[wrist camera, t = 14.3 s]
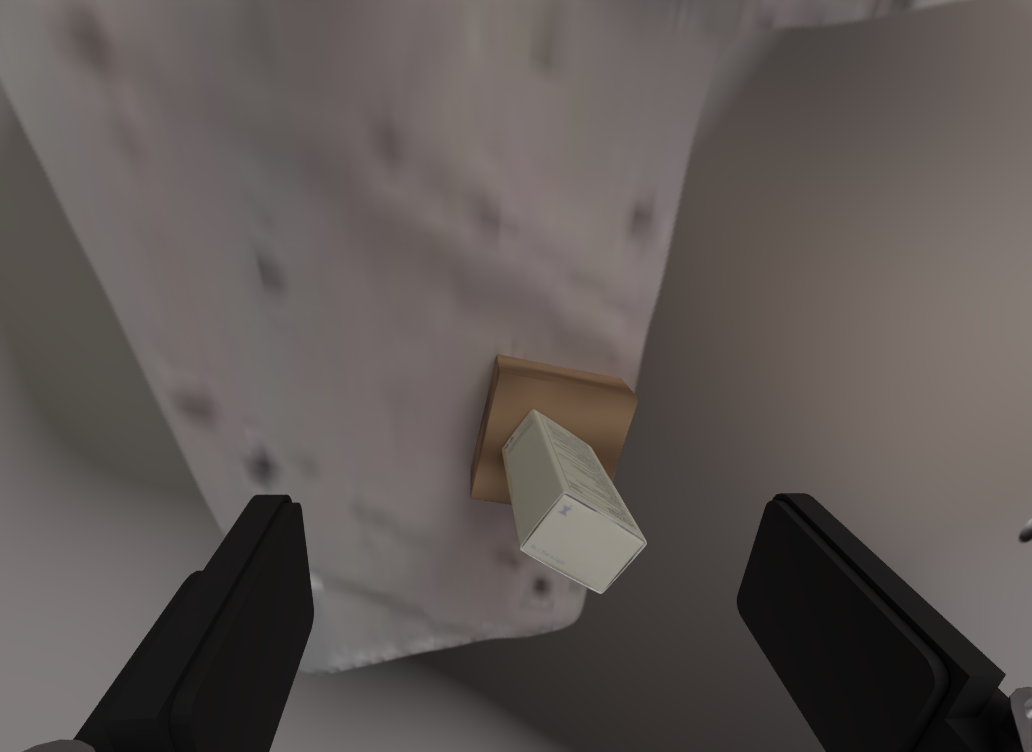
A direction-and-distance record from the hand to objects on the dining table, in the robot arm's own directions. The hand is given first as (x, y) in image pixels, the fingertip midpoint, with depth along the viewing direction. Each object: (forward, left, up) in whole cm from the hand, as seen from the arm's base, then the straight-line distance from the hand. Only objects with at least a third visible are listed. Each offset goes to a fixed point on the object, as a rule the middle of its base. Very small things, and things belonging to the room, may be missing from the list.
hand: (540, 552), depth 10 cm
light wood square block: (+11, +5, -31) cm, 33 cm away
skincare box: (+11, +5, -26) cm, 28 cm away
